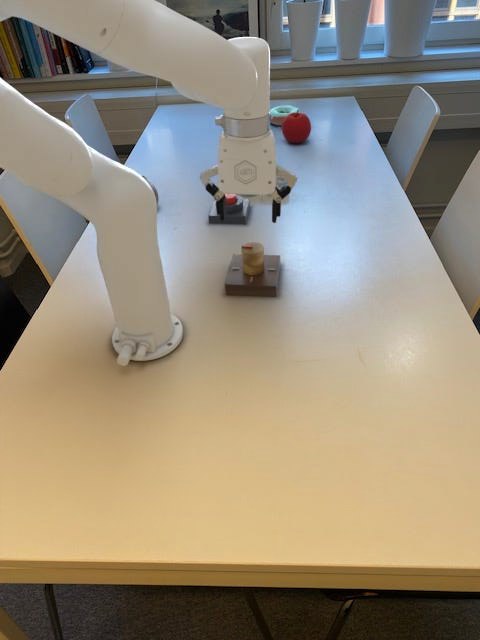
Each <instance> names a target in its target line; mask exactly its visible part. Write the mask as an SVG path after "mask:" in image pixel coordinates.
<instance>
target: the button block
mask: <svg viewBox="0 0 480 640" xmlns="http://www.w3.org/2000/svg"><path fill="white" fill-rule="evenodd" d="M236 201H237V202H236V203H234V204H226V209H227V214H226V217H225V220H223V221H220V214H217V206H216V200H214V199H213V202H212V204H211V208H210V210H209V212H208V224H211V225H212V224H213V225H246V224H247V221H248V217H249V213H250V211H251V199H250V198H242V196H241V195H238V194H236Z"/></svg>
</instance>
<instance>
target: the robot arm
mask: <svg viewBox="0 0 480 640" xmlns="http://www.w3.org/2000/svg"><path fill="white" fill-rule="evenodd" d="M12 17H14V18H19V19H23V20H25V21H27V22H30V23H31V24H33V25H36V26H38V27H40V28H42V29H44V30H46V31H48V32H50V33H52V34H54V35H56V36H58V37H60V38H62V39H64V40H66V41H68V42H71V43H73V44H75V45H77V46H79V47H80V48H82V49H84V50H86V51H89V52H91V53H93V54H94V55H96V56H98V57H101V58H102V59H104V60H107V61H109V62H110V63H112V64H115V65H117V66H120V67H123V68H125V69H126V70H130V71H133V72H136V73H139V74H143V75H147V76H150V77H155V78H158V79H160V80H163V81H167V82H169V83H171V85H172V88H174V90H175V91H176V92H177V93H178V94H180V95H182V97H185V98H187V99H189V100H193V101H196V102H199V103H204V104H207V105H211V106H214V107H216V108H219V109H221V110H222V114H221V115H219V116H215V117H214V124H215V126H219V127H222V128H221V129H222V131H221V132H220V133H219V137H218V144H217V164H216V165H213V166H212V167H210V168H208V169H206V170H204V171H202V172H200V175H199V176H198V178H199V180H200V182H201V184H202V185H203V186H204V187H205V191H207V192H208V194H210V195H211V196H212V197H213V201H214V200H216V206H217V214H220V221H223V220H225V217H226V214H227V209H226V196H225V193H226V194H236V195H244V196H245V195H246V196H270V197H271V198H272V202H271V223H272V224H276V223H277V219H278V218H280V217H281V215H282V214H281V213H282V210H281V209H282V201H283V199H285V198H286V197H287V196H288V195H290V194H291V192H292V189H293V188H294V187H295V186H296V183H297V181H298V176H297V174H295V173H293V172H291V171H289V170H287V169H286V168H283V166H280V165H278V161H277V147H276V139H275V135H274V131H273V130H272V129H270V126H271V125H270V110H271V108H270V107H271V106H270V104H271V102H270V101H271V100H270V99H271V96H270V94H271V92H270V91H271V90H270V89H271V71H270V70H271V51H270V46H269V43H268V42H267V41H266V40H265V39H263V38H260V37H254V36H242V37H240V36H239V37H233V38H229V39H226V38H224V37H223V36H222V35H220V34H218V33H217V32H216V31H213V30H212V29H210V28H208V27H206V26H205V25H202V24H201V23H199V22H198V21H195V20H193V19H191V18H190V17H189V18H188V17H187V16H185V15H183V14H181V13H179V12H177V11H176V10H173V9H171V8H169V7H168V6H166V5H164V4H162V3H160V2H159V1H157V0H0V23H1V22H3V21H5V20H8V19H9V18H12ZM0 168H1V169H2V170H4V171H5V172H7V173H8V174H10V175H11V176H12V177H14V178H15V179H17V180H18V181H19V182H21V183H23V184H24V185H25V186H26V187H29V188H31V189H32V190H34V191H36V192H39V193H42V194H44V195H48V196H50V197H52V198H54V199H55V200H58V201H59V202H61V203H63V204H64V205H66V206H67V207H69V208H70V209H72V210H73V211H75V212H77V213H79V215H81V216H82V217H83V218H85V219H86V220H87V221H88V222H90V223H91V224H92V226H93V228H94V230H95V233H96V255H97V260H98V262H99V263H98V265H99V267H100V271H101V273H102V277H103V281H104V286H105V288H106V291H107V295H108V298H109V303H110V306H111V309H112V313H113V316H114V320H115V325H116V327H115V328H114V329H113V332H112V335H111V343H112V347H113V349H114V350H115V352H116V353H117V354H118V356H117V359H116V363H117V364H118V365H120V366H123V367H125V366H128V365H129V363H130V360H131V361H135V362H147V361H152V360H156V359H159V358H162V357H164V356H166V355H168V354H170V353H171V352H173V351H174V350H175V349H176V348H177V347H179V345H180V344H181V342H182V339H183V337H184V327H183V324H182V321H181V320H180V319H179V318H178V317H177V316H176V315H174V314H172V311H171V307H170V306H171V305H170V300H169V295H168V290H167V289H168V288H167V284H166V279H165V278H166V277H165V272H164V267H163V262H162V257H161V252H160V246H159V239H158V206H157V201H156V197H155V194H154V191H153V189H152V188H151V186H150V185H149V183H148V182H147V181H146V180H145V179H144V178H143V177H142V176H143V175H141V174H139V173H138V171H135V170H134V169H132V168H130V167H128V166H127V165H124V164H122V163H120V162H118V161H116V160H114V159H112V158H109V157H108V156H106V155H104V154H102V153H101V152H98V151H97V150H95V149H94V148H93V147H91V146H89V145H88V144H87V143H86V141H85V140H84V139H83V138H82V136H81V135H79V133H78V132H76V130H74V128H73V127H71V126H70V125H68V124H67V123H65V122H64V121H62V120H61V119H59V118H57V117H54V116H52V115H51V114H49V113H48V112H47V111H45V110H44V109H42V108H41V107H39V106H38V105H37V104H35V103H33V102H32V101H31V100H29V99H28V98H27V97H25V95H23V94H22V93H21V92H19V91H18V90H17V89H16V88H15V87H13V86H12V85H10V84H9V83H8V82H6V81H5V80H4V79H3V78H2V77H0ZM215 176H217V185H216V184H215V183H214V182H213V181H212V180H211V179H212V178H213V177H215ZM278 178H281V179H282V180H285V181H286V184H284V186H282V187H279V186H278V185H277V180H278Z"/></svg>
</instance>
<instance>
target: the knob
mask: <svg viewBox="0 0 480 640" xmlns="http://www.w3.org/2000/svg"><path fill="white" fill-rule="evenodd" d="M240 249H241V254H242V267H243V272H244V273H246V274H248V275H258V274H261V273H262V272H263V271H264V255H265V246H264V245H263V244H262V243H260V242H257V241H250V242H249V241H248V242H246V243H244V244H242V245H241V247H240Z"/></svg>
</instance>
